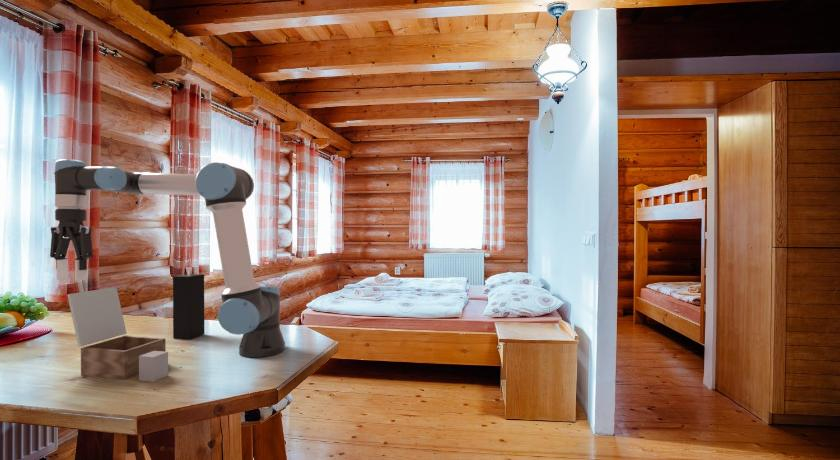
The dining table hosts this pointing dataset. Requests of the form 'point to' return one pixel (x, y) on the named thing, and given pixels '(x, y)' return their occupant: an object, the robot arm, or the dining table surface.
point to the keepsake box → (118, 356)
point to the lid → (96, 315)
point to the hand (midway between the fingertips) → (71, 279)
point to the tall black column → (188, 305)
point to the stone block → (153, 366)
